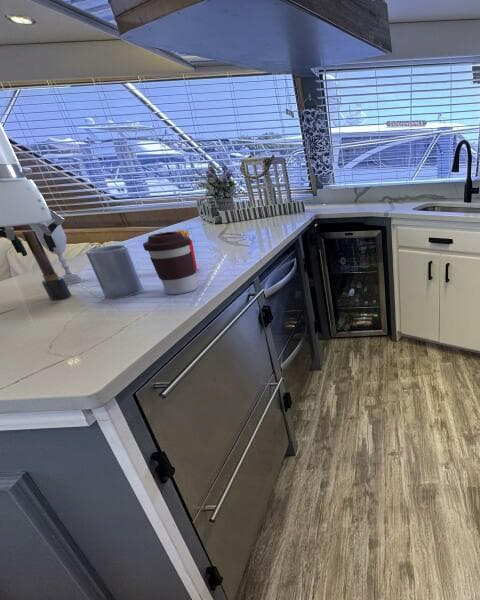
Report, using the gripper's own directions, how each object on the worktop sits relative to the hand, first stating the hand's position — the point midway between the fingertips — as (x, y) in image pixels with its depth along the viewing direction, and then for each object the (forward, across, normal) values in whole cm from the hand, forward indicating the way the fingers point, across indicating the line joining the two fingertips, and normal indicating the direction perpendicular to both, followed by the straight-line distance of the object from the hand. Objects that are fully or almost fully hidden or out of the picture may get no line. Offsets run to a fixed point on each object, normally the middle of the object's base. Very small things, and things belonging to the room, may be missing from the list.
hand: (38, 252), depth 79 cm
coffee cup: (+12, -23, +21) cm, 34 cm away
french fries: (+12, -28, +2) cm, 31 cm away
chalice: (+12, -3, -16) cm, 20 cm away
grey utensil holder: (+12, -12, +10) cm, 20 cm away
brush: (+12, 0, 0) cm, 12 cm away
